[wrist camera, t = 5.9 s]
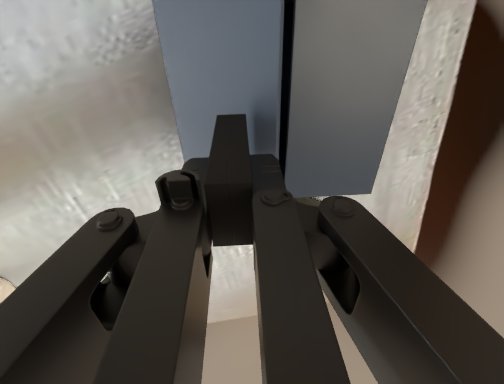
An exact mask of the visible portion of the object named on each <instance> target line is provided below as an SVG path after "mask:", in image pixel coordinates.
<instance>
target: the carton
mask: <svg viewBox="0 0 504 384" xmlns="http://www.w3.org/2000/svg"><path fill="white" fill-rule="evenodd" d="M427 1H428V0H284V23H283V50H282V78H281V105H280V133H279V160H278V161H279V165H280V168H281V172H282V175H283V179H284V182H285V186H286V189H287V191H289V192H290V193H291V194H292V196H293V197H294V198H299V197H318V196H337V195H356V194H371V192H372V188H373V185H374V181H375V178H376V175H377V171H378V168H379V164H380V161H381V158H382V154H383V151H384V147H385V144H386V140H387V137H388V134H389V130H390V127H391V123H392V120H393V117H394V113H395V110H396V106H397V103H398V100H399V96H400V93H401V89H402V86H403V82H404V79H405V76H406V72H407V69H408V65H409V62H410V59H411V55H412V52H413V48H414V45H415V41H416V38H417V35H418V31H419V28H420V24H421V21H422V18H423V14H424V11H425V7H426V4H427Z"/></svg>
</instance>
